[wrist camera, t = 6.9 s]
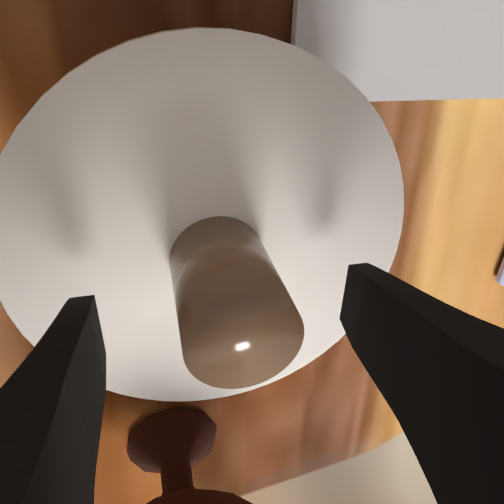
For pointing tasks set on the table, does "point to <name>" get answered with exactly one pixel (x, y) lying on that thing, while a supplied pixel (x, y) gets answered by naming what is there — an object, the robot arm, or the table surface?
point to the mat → (408, 45)
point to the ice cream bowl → (177, 455)
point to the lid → (197, 208)
